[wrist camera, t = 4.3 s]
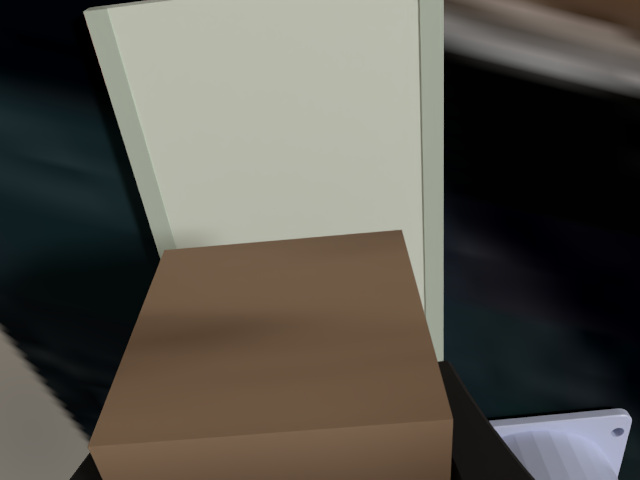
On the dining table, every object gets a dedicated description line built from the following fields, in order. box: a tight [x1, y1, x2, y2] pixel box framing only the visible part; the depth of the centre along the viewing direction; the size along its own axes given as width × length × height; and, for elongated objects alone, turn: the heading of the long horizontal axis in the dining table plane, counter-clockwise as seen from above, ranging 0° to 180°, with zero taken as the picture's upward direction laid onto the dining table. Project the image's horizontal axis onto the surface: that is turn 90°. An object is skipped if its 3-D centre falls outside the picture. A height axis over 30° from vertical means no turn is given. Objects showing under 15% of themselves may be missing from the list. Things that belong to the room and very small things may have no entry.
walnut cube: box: [88, 230, 453, 480], centre depth 11 cm, size 5×5×5 cm
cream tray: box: [83, 0, 444, 362], centre depth 18 cm, size 14×9×1 cm, turn 7°
